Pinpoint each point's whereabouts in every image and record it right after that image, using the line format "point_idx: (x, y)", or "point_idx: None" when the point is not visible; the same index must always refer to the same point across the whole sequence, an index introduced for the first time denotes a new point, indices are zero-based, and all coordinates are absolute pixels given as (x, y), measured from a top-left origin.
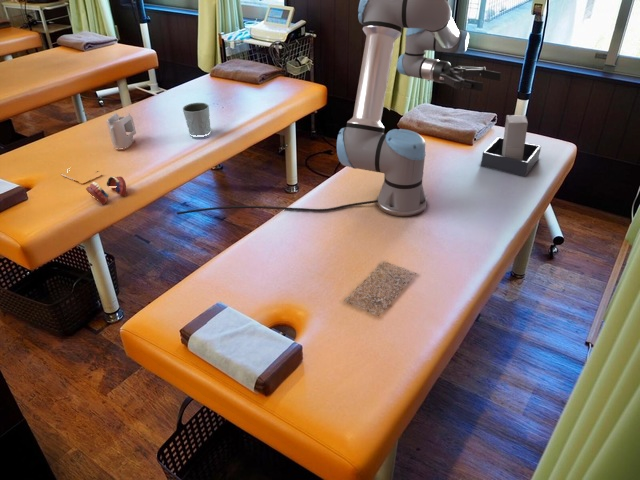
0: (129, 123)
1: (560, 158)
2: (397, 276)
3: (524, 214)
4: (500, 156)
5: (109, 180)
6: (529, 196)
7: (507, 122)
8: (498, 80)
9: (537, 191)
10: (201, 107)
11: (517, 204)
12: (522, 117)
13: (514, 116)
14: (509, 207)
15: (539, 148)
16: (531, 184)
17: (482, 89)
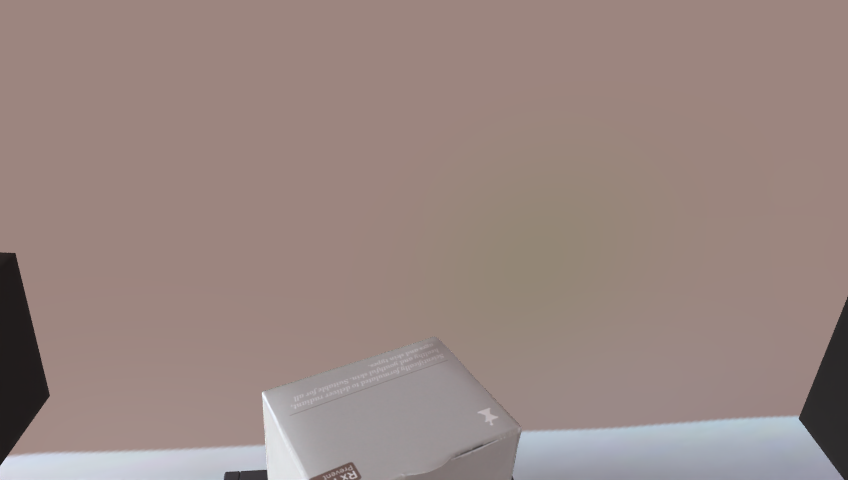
0: None
1: (160, 461)
2: None
3: (786, 423)
4: None
5: None
6: (651, 449)
7: (460, 471)
8: (33, 405)
9: (583, 440)
10: None
11: (755, 462)
12: (334, 388)
13: (338, 441)
14: (809, 476)
15: (266, 470)
16: (545, 476)
17: (809, 397)
